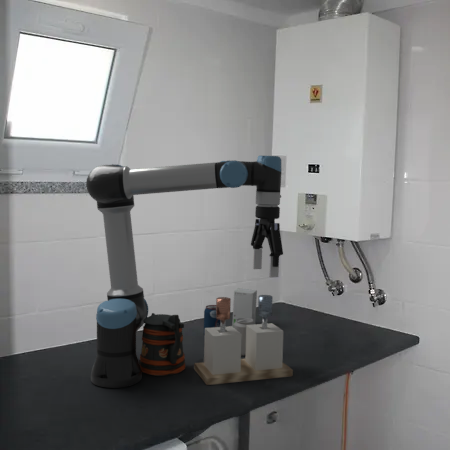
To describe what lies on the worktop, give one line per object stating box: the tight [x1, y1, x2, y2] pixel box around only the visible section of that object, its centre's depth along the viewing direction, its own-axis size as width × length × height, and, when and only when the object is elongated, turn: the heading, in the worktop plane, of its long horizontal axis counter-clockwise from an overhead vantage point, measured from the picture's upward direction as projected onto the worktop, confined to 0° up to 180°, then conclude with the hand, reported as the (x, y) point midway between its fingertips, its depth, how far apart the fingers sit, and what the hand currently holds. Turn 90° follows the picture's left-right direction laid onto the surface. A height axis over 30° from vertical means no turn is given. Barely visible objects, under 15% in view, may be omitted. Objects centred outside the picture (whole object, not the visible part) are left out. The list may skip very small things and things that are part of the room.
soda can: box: [203, 304, 220, 337], centre depth 222 cm, size 7×7×12 cm
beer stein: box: [139, 312, 186, 377], centre depth 186 cm, size 19×15×20 cm
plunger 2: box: [257, 294, 274, 329], centre depth 187 cm, size 4×4×19 cm
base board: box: [193, 358, 294, 386], centre depth 186 cm, size 28×14×2 cm, turn 109°
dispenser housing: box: [203, 322, 284, 375], centre depth 186 cm, size 23×9×12 cm, turn 109°
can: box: [234, 318, 256, 357], centre depth 205 cm, size 8×8×12 cm
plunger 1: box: [215, 296, 232, 333], centre depth 183 cm, size 4×4×19 cm
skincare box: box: [231, 287, 258, 328], centre depth 236 cm, size 8×7×16 cm
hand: (265, 273), depth 185 cm, fingers open, 13 cm apart
